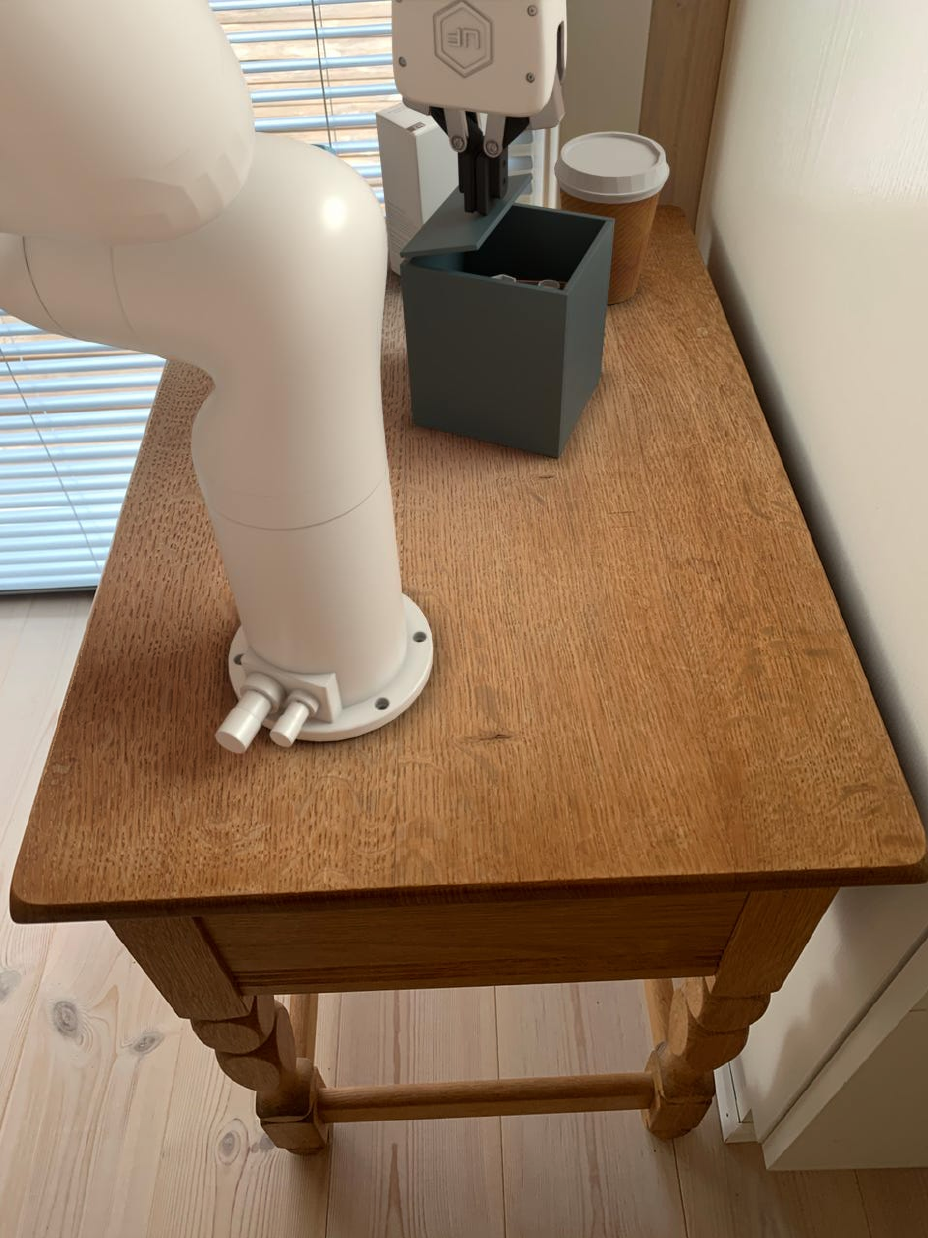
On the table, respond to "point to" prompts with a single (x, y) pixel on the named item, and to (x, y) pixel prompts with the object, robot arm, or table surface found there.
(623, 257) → the disposable coffee cup
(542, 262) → the carton
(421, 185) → the cosmetic box
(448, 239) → the flap
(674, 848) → the table surface
